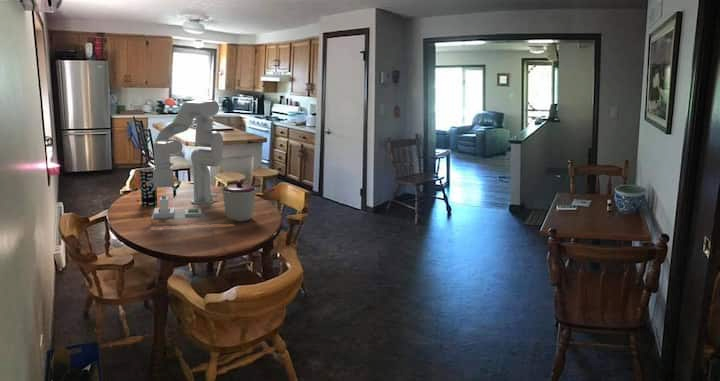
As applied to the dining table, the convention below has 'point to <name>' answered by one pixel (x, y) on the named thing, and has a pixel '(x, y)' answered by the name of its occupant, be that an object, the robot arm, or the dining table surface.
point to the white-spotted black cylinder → (145, 191)
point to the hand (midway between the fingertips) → (164, 197)
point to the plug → (164, 204)
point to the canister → (239, 201)
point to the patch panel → (177, 213)
